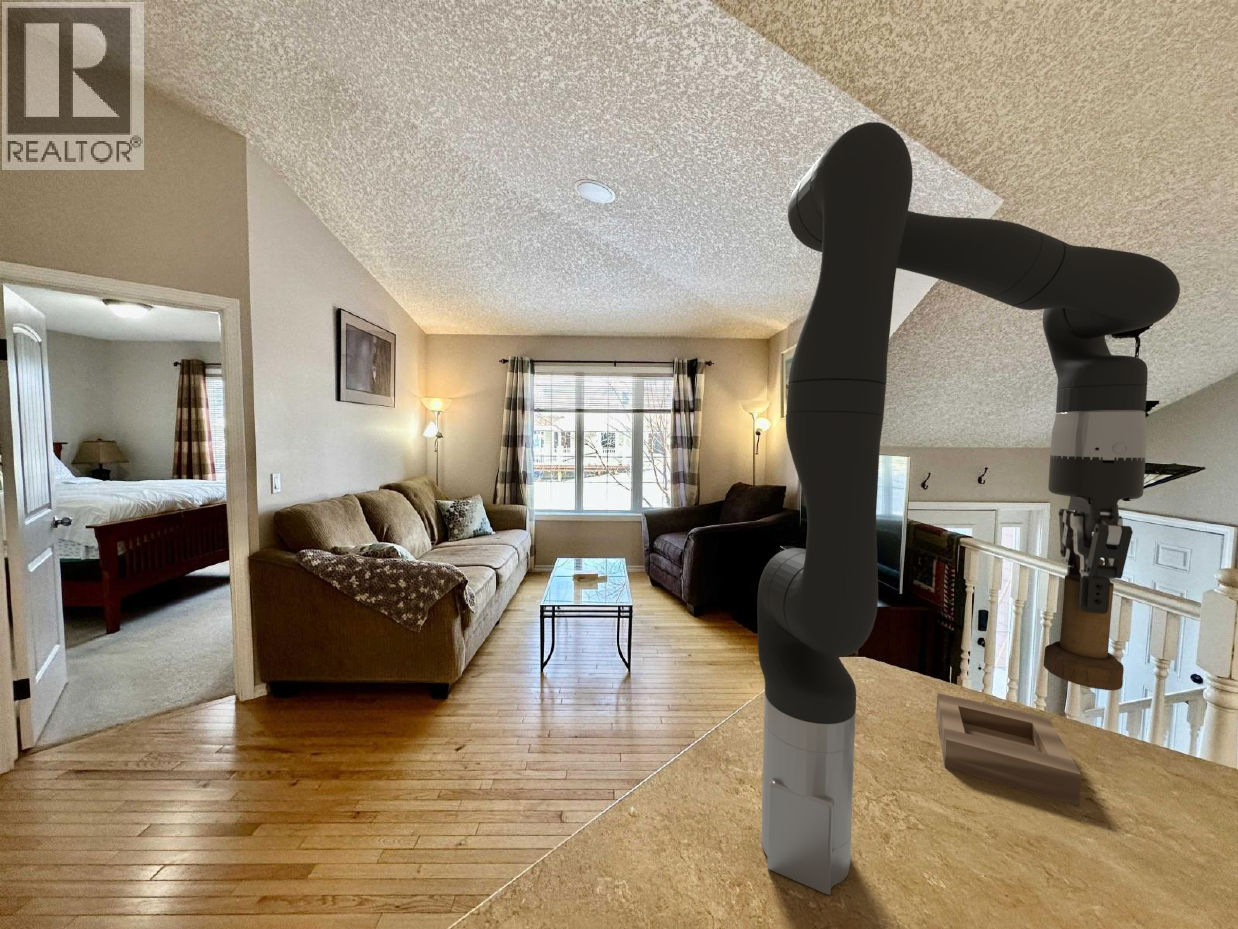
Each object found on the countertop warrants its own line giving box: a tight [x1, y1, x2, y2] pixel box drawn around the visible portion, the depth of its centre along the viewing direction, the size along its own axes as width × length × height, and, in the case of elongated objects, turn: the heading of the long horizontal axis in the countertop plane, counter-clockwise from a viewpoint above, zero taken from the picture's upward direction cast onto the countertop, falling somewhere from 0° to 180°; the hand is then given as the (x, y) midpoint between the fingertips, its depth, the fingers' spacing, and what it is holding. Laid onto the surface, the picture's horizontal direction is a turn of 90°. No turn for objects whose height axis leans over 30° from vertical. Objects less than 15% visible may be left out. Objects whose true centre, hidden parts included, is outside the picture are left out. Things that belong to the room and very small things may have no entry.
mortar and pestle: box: [1043, 533, 1124, 691], centre depth 54 cm, size 7×6×18 cm
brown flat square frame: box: [935, 692, 1082, 807], centre depth 70 cm, size 14×14×4 cm
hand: (1085, 604), depth 54 cm, fingers closed on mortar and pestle, 4 cm apart
